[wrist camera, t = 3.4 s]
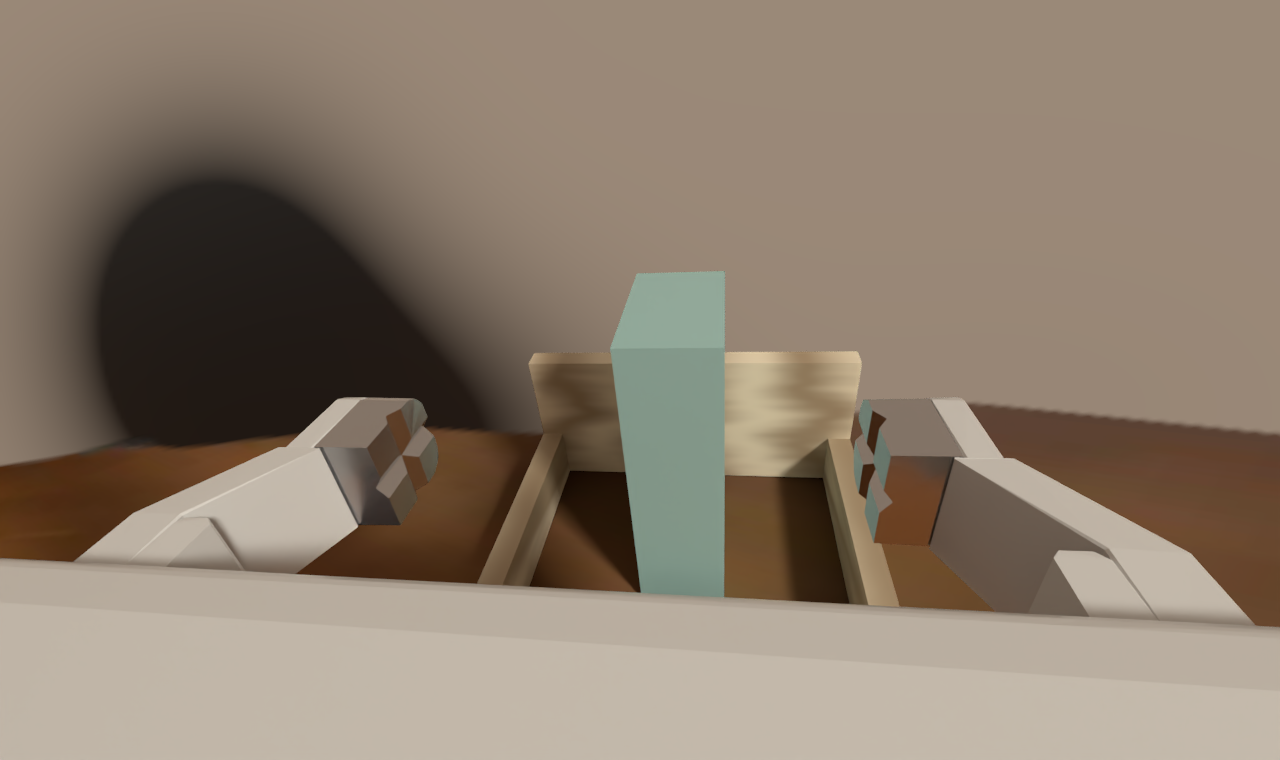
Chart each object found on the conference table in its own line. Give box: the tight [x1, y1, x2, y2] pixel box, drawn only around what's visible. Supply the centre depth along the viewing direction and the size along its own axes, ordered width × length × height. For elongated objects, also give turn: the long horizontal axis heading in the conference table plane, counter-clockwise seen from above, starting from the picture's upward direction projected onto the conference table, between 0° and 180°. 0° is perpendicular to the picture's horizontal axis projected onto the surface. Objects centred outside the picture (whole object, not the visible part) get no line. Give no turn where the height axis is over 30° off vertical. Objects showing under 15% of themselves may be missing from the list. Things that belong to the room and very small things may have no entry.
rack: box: [477, 352, 900, 607], centre depth 28 cm, size 18×13×8 cm
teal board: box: [610, 271, 725, 597], centre depth 26 cm, size 4×7×14 cm, turn 173°
